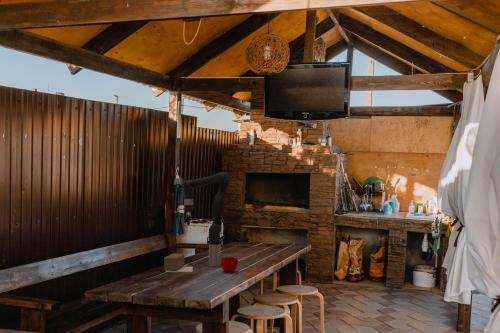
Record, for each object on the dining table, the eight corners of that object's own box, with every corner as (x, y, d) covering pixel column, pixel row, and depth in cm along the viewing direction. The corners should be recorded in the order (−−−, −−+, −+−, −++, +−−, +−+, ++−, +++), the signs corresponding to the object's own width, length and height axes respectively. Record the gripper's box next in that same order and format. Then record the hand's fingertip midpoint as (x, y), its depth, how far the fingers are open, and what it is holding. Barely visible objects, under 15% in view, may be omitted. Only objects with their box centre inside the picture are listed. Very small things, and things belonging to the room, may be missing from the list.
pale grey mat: (193, 267, 401) (193, 266, 401) (192, 272, 382) (192, 271, 382) (167, 267, 399) (167, 266, 399) (165, 272, 380) (165, 271, 380)
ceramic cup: (223, 274, 374) (224, 261, 374) (219, 270, 390) (219, 257, 390) (240, 274, 377) (241, 260, 377) (235, 270, 394) (235, 257, 394)
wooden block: (184, 266, 401) (176, 271, 382) (172, 265, 403) (163, 270, 384) (184, 253, 402) (176, 257, 382) (172, 253, 403) (163, 257, 384)
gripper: (193, 204, 417) (192, 226, 417) (193, 203, 430) (193, 224, 430) (183, 204, 416) (183, 225, 416) (184, 203, 430) (184, 224, 429)
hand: (188, 225), depth 423 cm, fingers closed
